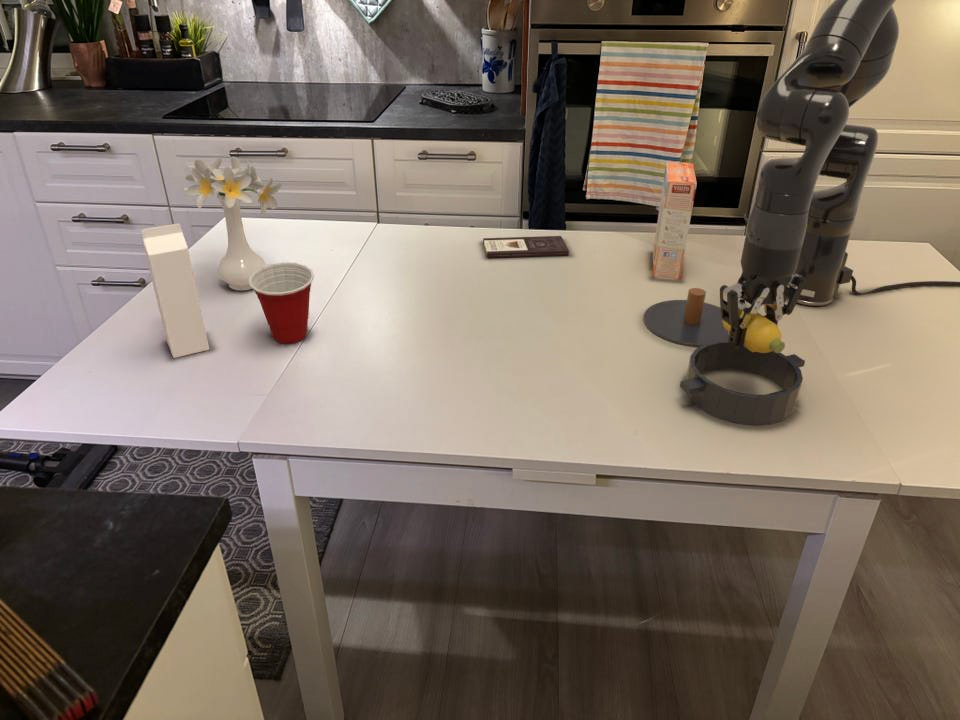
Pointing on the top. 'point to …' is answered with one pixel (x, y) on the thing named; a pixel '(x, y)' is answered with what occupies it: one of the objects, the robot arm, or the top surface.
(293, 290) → the plastic cup
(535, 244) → the chocolate bar
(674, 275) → the cracker box
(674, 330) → the lid
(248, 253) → the flower vase
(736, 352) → the pan
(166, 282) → the milk
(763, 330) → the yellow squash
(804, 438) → the top surface
